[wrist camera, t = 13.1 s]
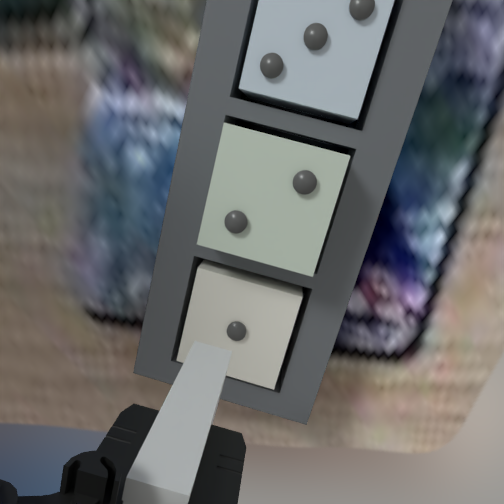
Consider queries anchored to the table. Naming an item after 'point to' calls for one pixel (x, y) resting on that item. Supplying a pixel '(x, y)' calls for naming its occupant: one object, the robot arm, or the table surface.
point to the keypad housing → (344, 214)
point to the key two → (271, 199)
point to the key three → (314, 54)
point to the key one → (242, 319)
